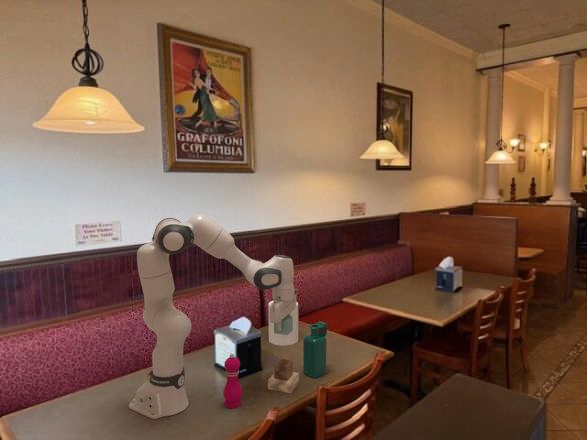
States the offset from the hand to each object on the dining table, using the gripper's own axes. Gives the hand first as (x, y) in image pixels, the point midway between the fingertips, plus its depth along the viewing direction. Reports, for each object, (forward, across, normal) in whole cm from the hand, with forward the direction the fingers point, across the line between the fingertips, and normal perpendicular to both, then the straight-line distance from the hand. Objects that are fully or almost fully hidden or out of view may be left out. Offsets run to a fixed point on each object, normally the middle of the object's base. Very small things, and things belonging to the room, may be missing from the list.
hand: (283, 326), depth 171 cm
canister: (+26, +46, +19) cm, 56 cm away
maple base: (+26, 0, 0) cm, 26 cm away
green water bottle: (+26, +16, -9) cm, 32 cm away
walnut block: (+22, 0, 0) cm, 22 cm away
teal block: (+2, 0, 0) cm, 2 cm away
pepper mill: (+26, -20, +13) cm, 35 cm away
